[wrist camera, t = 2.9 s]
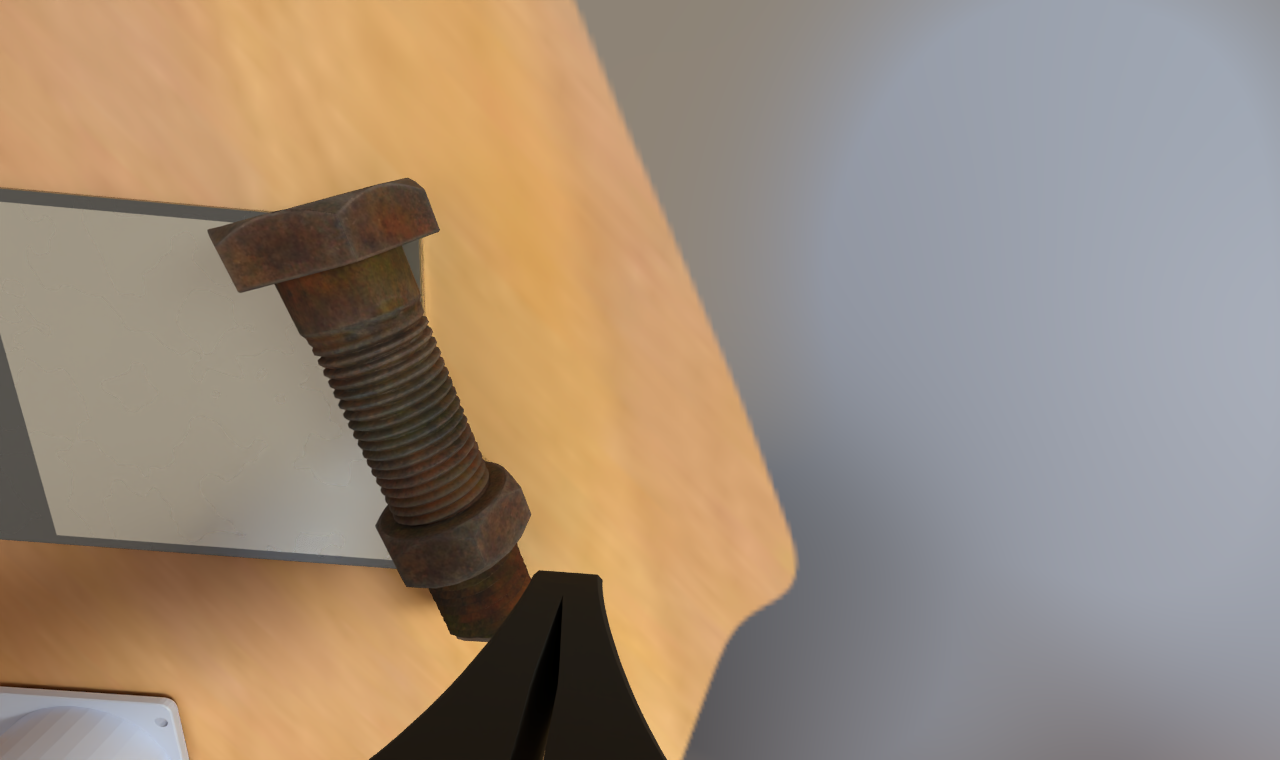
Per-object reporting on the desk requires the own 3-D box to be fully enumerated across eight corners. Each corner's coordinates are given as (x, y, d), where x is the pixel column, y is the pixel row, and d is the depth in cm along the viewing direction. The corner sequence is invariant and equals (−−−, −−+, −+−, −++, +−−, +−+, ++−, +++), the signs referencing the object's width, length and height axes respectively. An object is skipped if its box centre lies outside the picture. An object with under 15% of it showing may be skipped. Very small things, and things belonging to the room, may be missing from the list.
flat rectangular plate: (433, 566, 23) (430, 571, 23) (-313, 510, 23) (-326, 515, 22) (422, 225, 19) (418, 226, 19) (-502, 142, 18) (-522, 141, 18)
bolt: (492, 557, 25) (339, 195, 19) (594, 571, 23) (454, 164, 17) (390, 674, 21) (148, 244, 15) (505, 707, 18) (271, 210, 12)
